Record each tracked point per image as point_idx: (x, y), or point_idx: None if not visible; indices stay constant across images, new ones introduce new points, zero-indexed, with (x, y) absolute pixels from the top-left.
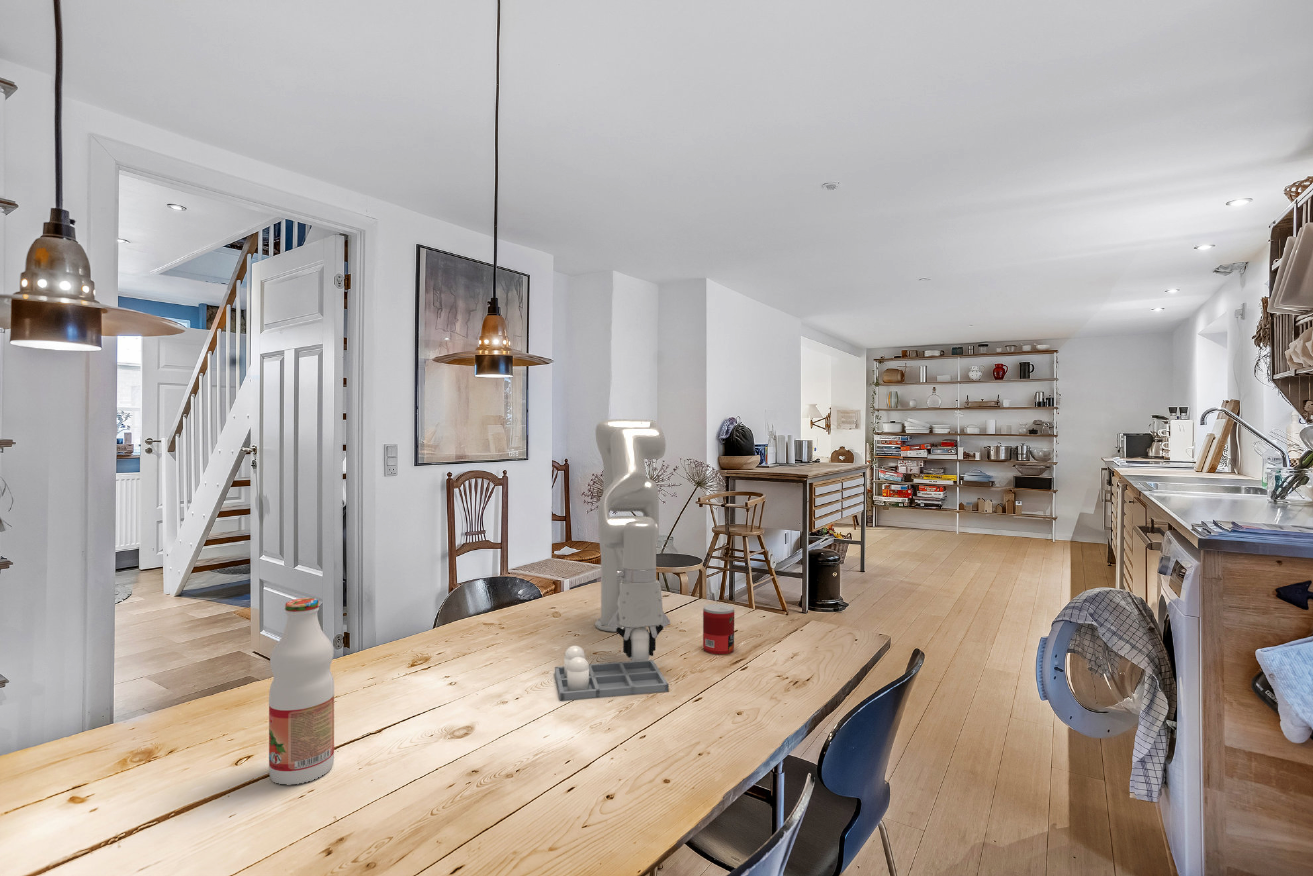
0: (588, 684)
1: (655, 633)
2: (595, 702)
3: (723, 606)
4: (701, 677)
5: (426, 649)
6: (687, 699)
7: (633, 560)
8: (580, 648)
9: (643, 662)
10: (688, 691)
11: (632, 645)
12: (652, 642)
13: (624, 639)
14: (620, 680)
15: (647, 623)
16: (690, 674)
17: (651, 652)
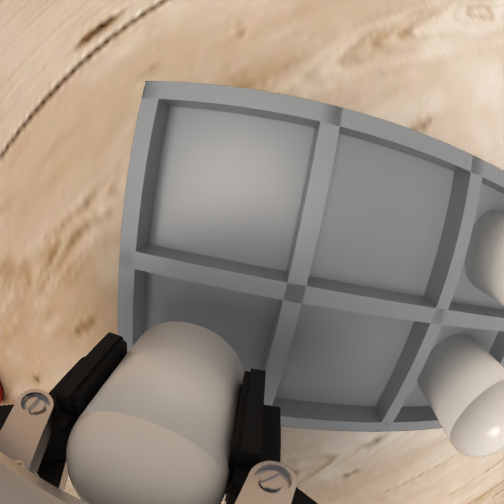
0: (491, 232)
1: (22, 410)
2: (467, 145)
3: None
4: (15, 215)
5: (496, 500)
6: (125, 33)
7: None
8: (493, 433)
9: None
10: (86, 99)
11: (224, 419)
12: (73, 378)
13: (289, 468)
14: (323, 281)
15: (10, 496)
16: (33, 256)
17: (111, 343)
